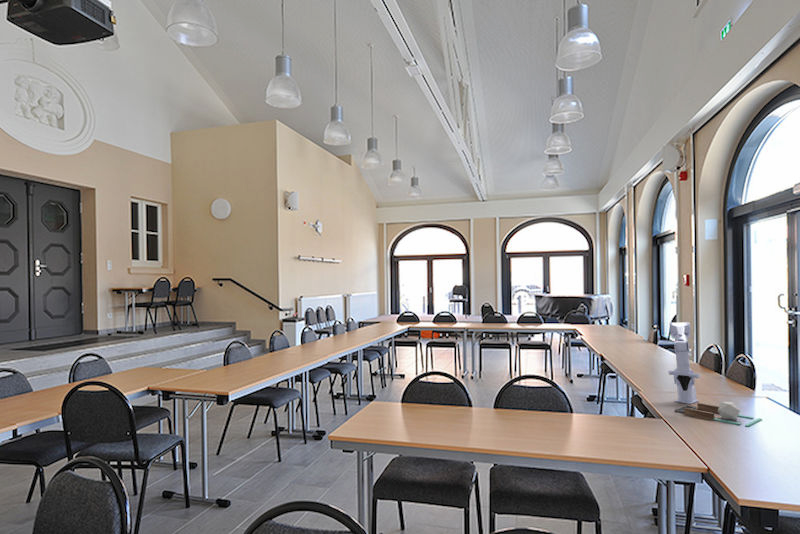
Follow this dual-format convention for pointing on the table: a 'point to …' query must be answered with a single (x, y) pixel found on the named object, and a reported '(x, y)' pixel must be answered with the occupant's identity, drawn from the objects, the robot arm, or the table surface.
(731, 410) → the die
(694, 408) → the grey flat rectangular tray
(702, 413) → the channel
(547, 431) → the table surface
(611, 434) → the table surface
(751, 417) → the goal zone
